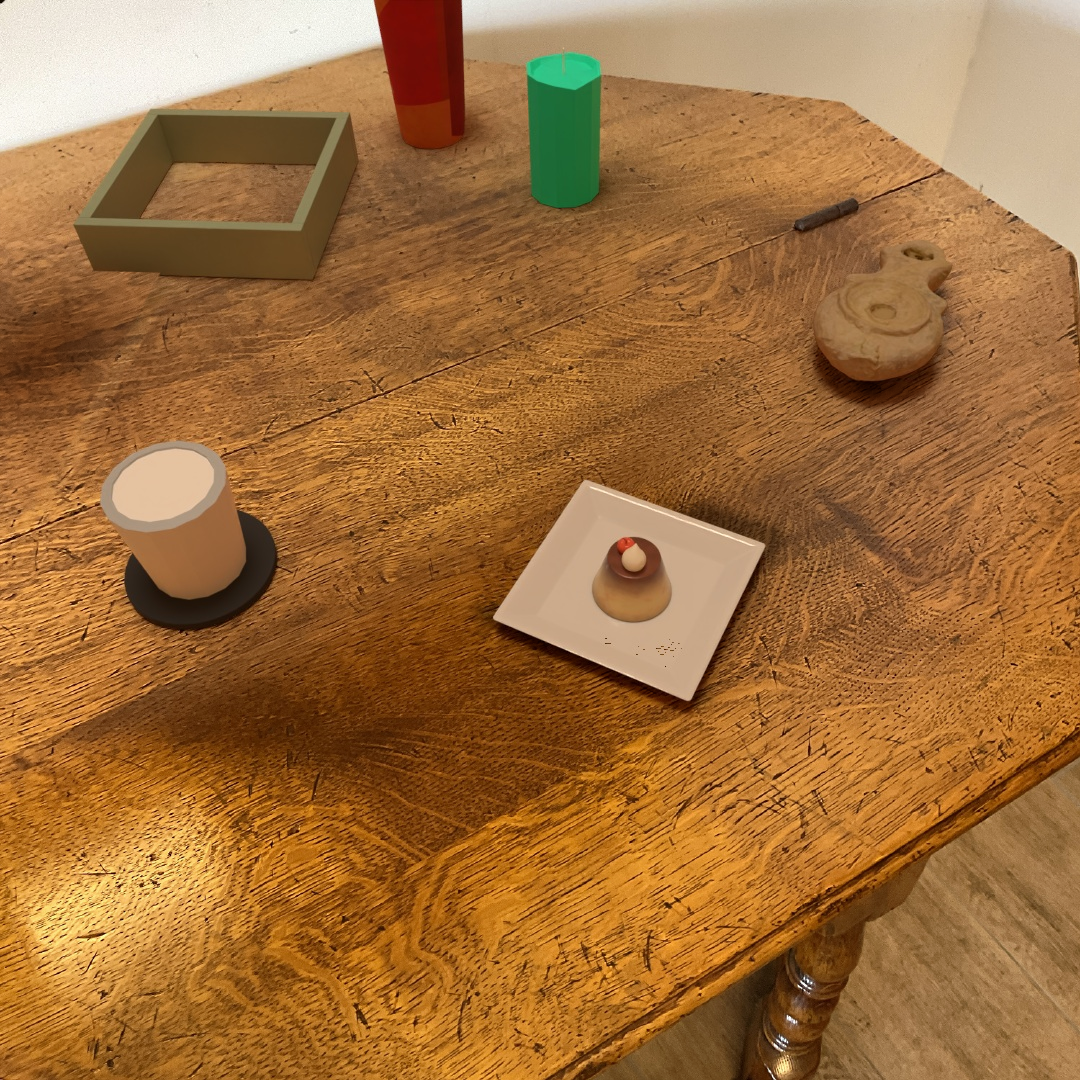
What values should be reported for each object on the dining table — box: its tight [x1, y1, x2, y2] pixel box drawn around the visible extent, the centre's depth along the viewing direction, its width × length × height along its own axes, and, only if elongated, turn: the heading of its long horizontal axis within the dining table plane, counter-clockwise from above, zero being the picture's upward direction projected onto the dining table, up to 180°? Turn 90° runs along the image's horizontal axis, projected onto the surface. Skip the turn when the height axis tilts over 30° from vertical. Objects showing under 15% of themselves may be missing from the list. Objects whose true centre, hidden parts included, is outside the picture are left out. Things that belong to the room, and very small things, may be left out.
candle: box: [526, 47, 602, 209], centre depth 82 cm, size 6×6×12 cm
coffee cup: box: [373, 0, 466, 150], centre depth 87 cm, size 8×8×15 cm
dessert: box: [492, 479, 766, 702], centre depth 57 cm, size 12×12×5 cm
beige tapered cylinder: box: [99, 440, 246, 599], centre depth 58 cm, size 7×7×7 cm
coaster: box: [123, 509, 278, 631], centre depth 60 cm, size 9×9×1 cm
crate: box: [73, 108, 359, 281], centre depth 84 cm, size 18×18×4 cm
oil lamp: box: [812, 239, 954, 382], centre depth 71 cm, size 11×14×5 cm
